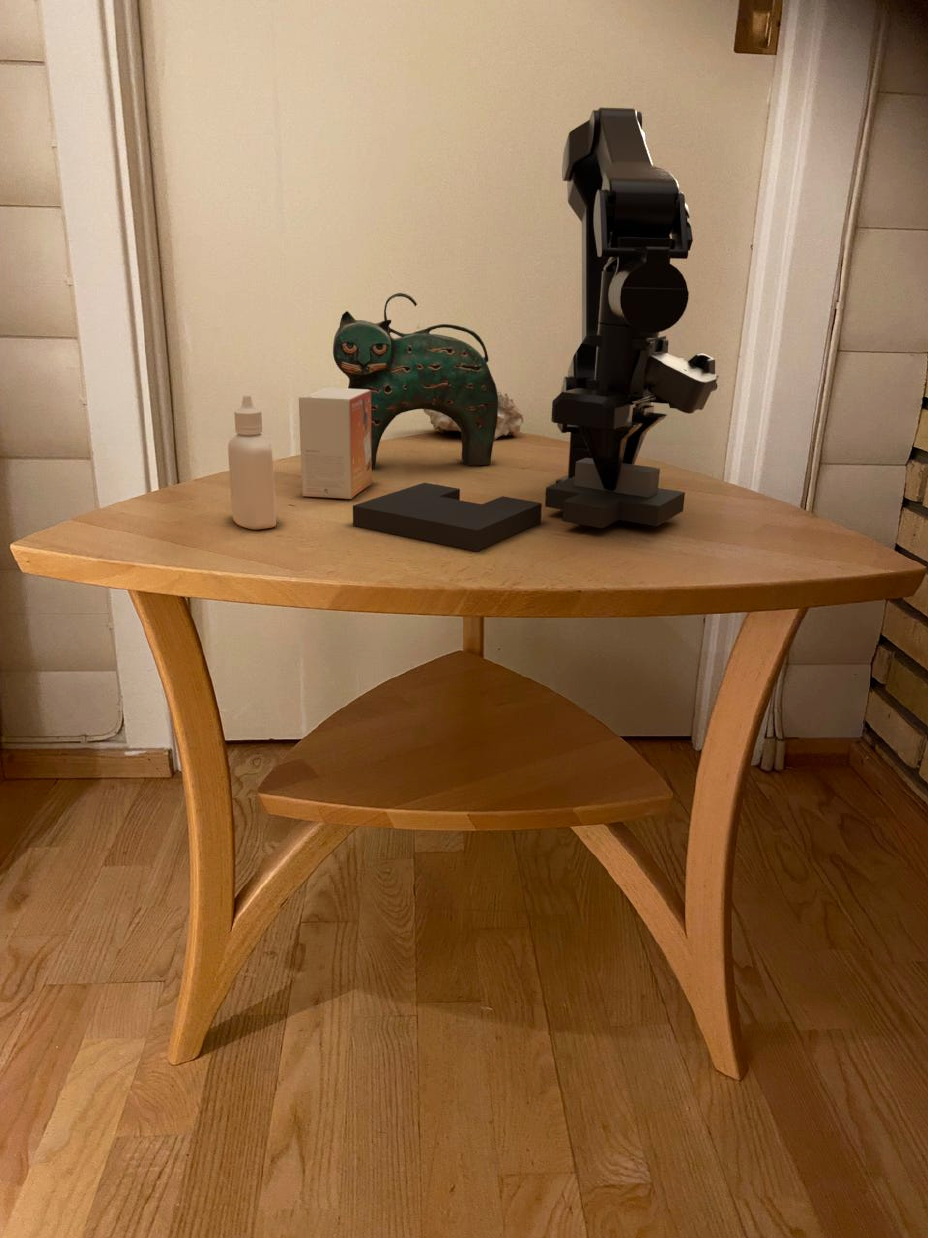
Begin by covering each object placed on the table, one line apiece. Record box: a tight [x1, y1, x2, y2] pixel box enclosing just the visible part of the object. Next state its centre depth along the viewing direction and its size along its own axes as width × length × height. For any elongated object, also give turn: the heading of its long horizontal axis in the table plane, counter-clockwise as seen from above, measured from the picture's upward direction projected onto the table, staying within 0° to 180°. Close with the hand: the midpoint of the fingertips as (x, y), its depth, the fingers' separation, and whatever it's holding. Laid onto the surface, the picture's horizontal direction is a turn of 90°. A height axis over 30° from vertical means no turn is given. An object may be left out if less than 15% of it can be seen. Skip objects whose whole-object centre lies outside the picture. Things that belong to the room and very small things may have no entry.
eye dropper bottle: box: [227, 394, 277, 531], centre depth 90 cm, size 4×6×12 cm
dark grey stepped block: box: [544, 458, 686, 529], centre depth 94 cm, size 11×12×4 cm
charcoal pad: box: [352, 482, 543, 553], centre depth 93 cm, size 12×14×2 cm
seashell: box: [422, 390, 524, 440], centre depth 136 cm, size 14×9×10 cm
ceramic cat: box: [332, 292, 498, 470], centre depth 114 cm, size 20×6×20 cm, turn 104°
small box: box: [298, 386, 373, 500], centre depth 103 cm, size 8×6×10 cm
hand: (615, 487), depth 96 cm, fingers closed on dark grey stepped block, 2 cm apart
